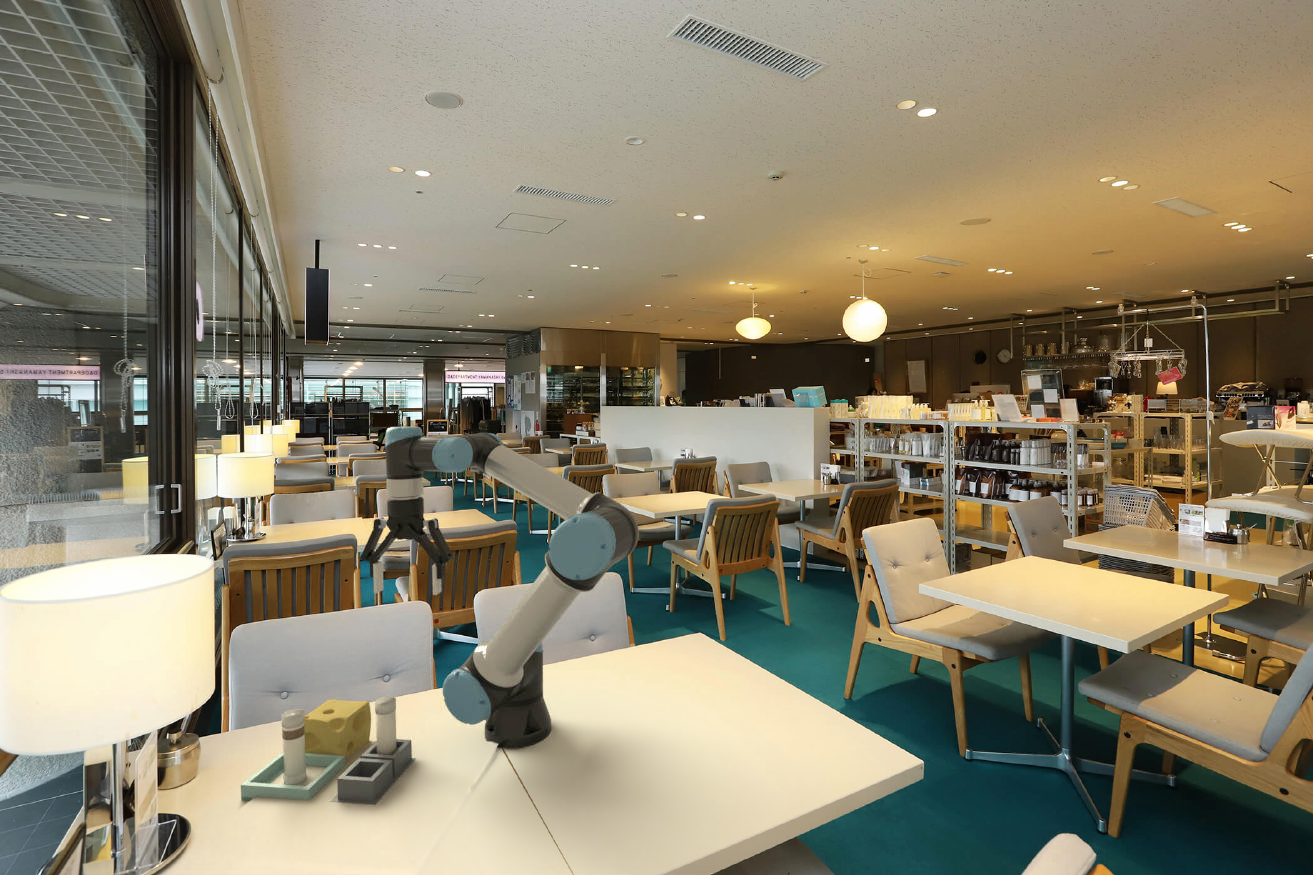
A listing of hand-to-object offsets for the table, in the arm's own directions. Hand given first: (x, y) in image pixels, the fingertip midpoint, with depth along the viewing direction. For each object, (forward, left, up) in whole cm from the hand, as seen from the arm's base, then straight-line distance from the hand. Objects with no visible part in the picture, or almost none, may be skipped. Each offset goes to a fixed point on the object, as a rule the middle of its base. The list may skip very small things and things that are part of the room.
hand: (407, 592), depth 145 cm
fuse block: (0, +15, -35) cm, 38 cm away
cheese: (+15, +5, -35) cm, 38 cm away
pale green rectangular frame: (+16, +17, -35) cm, 42 cm away
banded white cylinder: (+16, +17, -34) cm, 41 cm away
